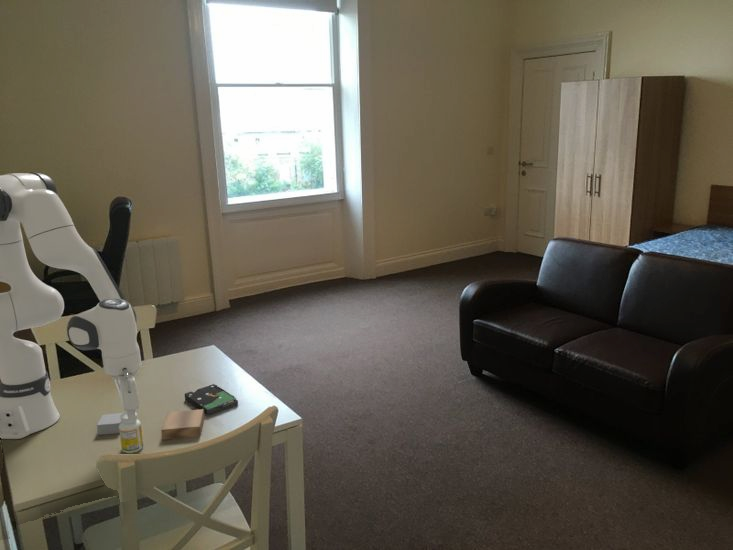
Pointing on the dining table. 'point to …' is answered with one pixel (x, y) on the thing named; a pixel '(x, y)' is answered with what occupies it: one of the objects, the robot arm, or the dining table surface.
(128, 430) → the supplement bottle
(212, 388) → the disk drive
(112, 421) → the slate plinth
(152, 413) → the dining table surface
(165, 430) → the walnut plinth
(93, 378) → the dining table surface
